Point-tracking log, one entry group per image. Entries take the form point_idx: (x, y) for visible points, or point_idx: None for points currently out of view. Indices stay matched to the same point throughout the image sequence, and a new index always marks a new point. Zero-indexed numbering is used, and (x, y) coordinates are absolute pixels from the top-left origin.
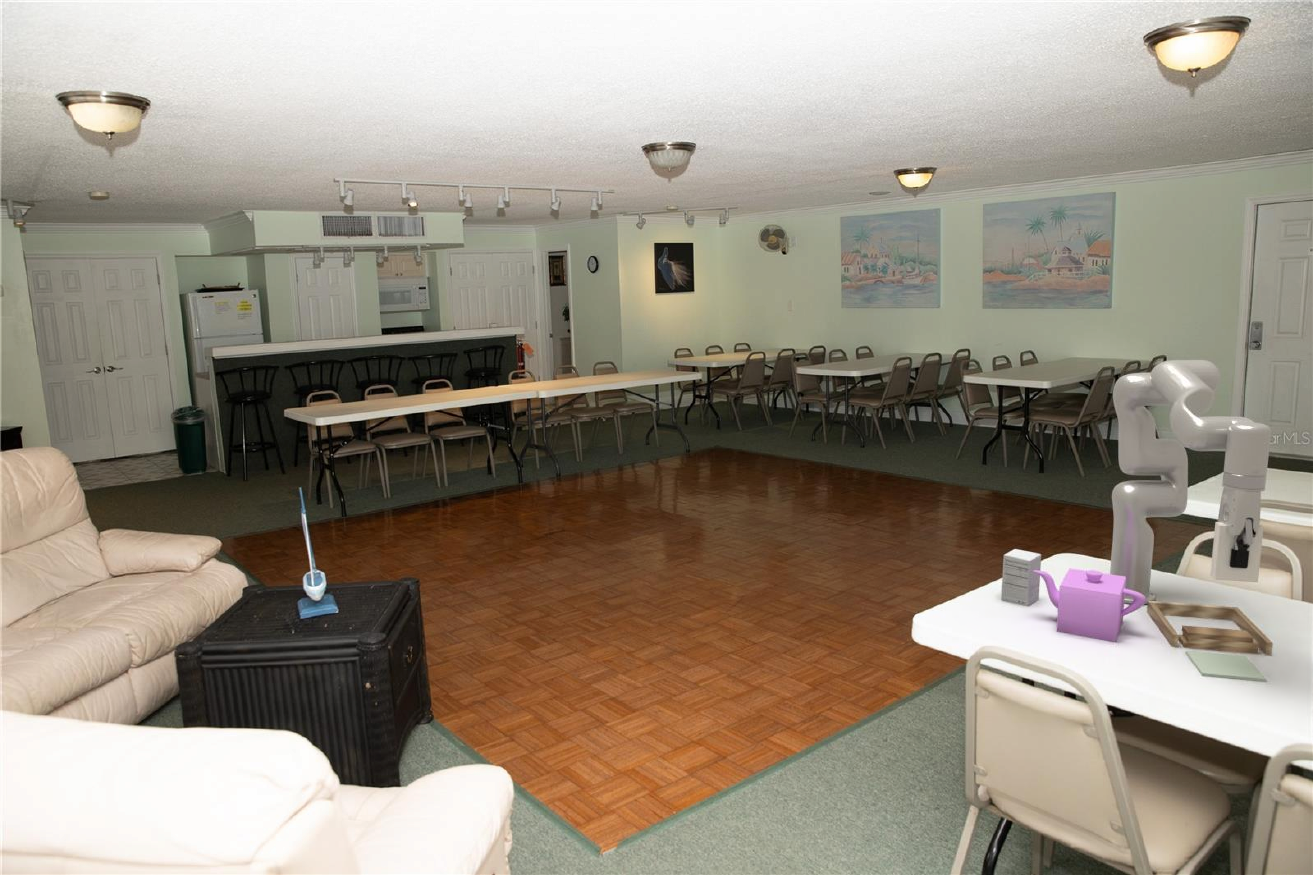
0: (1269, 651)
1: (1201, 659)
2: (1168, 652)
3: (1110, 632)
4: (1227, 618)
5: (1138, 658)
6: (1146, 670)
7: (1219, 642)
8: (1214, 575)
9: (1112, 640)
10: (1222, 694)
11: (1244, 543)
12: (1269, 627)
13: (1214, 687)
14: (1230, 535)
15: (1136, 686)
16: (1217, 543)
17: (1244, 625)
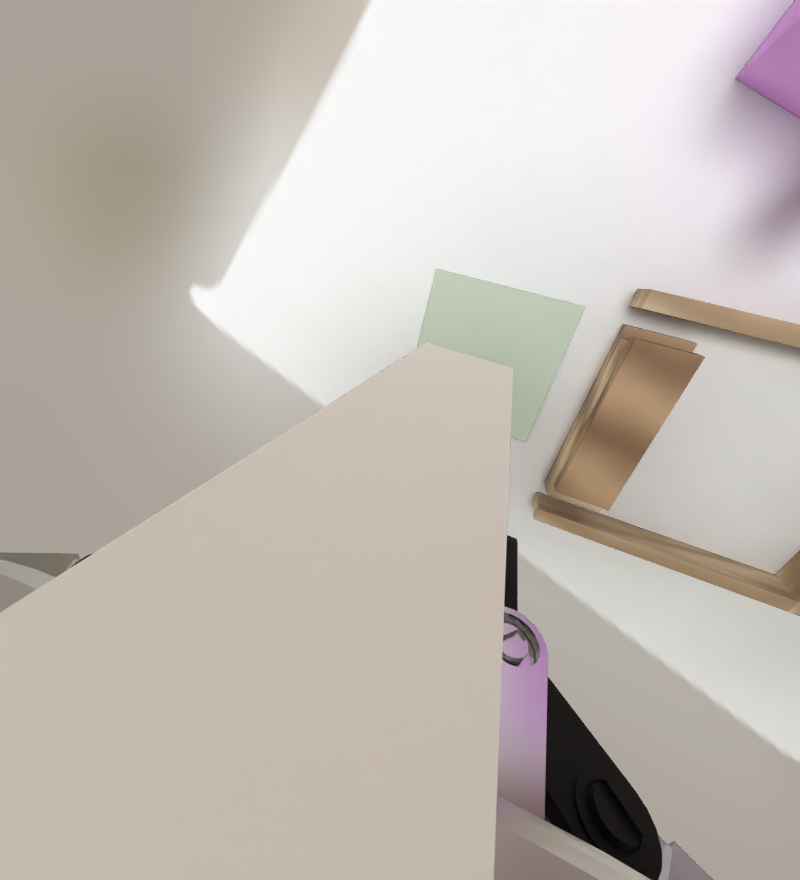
0: (535, 503)
1: (517, 317)
2: (598, 254)
3: (783, 24)
4: (787, 568)
5: (571, 116)
6: (479, 104)
7: (586, 415)
8: (436, 350)
9: (751, 57)
10: (343, 262)
11: (27, 560)
12: (692, 612)
13: (376, 264)
14: (20, 568)
15: (373, 9)
16: (339, 432)
17: (690, 555)
